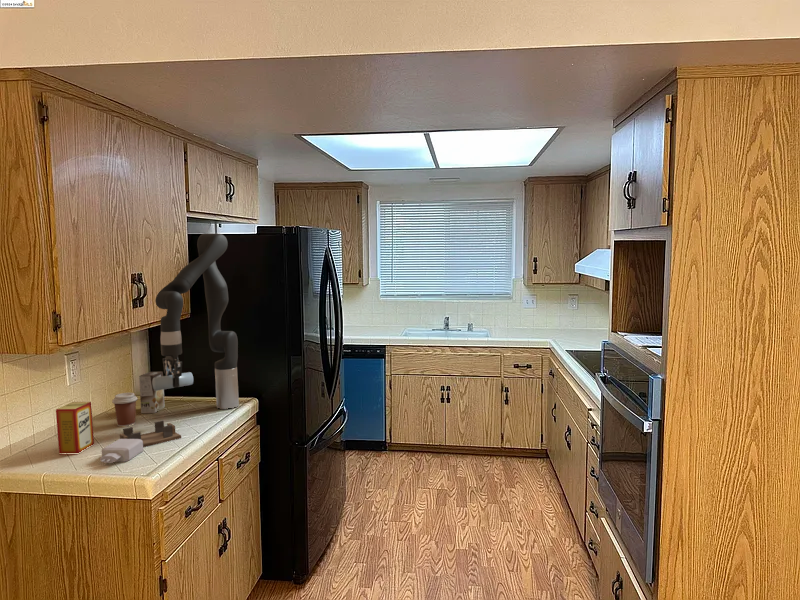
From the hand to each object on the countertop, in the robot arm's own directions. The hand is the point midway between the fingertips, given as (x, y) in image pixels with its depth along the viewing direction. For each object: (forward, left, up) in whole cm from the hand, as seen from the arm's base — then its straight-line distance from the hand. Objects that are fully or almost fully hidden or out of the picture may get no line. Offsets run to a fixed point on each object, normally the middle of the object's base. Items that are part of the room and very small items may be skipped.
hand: (173, 385), depth 223 cm
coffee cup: (-16, -13, -16) cm, 26 cm away
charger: (+23, -28, -16) cm, 40 cm away
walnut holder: (+11, -14, -16) cm, 24 cm away
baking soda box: (+2, -35, -16) cm, 39 cm away
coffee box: (-29, +2, -16) cm, 33 cm away
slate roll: (0, 0, -1) cm, 1 cm away
